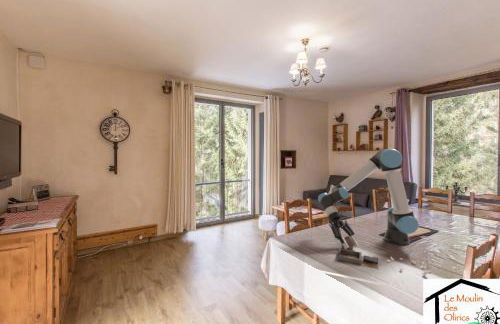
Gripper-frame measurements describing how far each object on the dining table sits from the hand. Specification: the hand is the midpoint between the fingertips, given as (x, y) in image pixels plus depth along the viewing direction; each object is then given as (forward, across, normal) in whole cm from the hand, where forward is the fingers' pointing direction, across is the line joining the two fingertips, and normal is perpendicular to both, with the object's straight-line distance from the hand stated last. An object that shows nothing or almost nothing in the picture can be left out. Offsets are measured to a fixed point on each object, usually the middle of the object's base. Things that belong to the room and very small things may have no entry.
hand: (351, 247), depth 146 cm
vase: (0, 0, -5) cm, 5 cm away
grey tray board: (+9, +7, +5) cm, 12 cm away
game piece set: (+21, -12, +15) cm, 29 cm away
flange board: (+10, +7, +5) cm, 13 cm away
